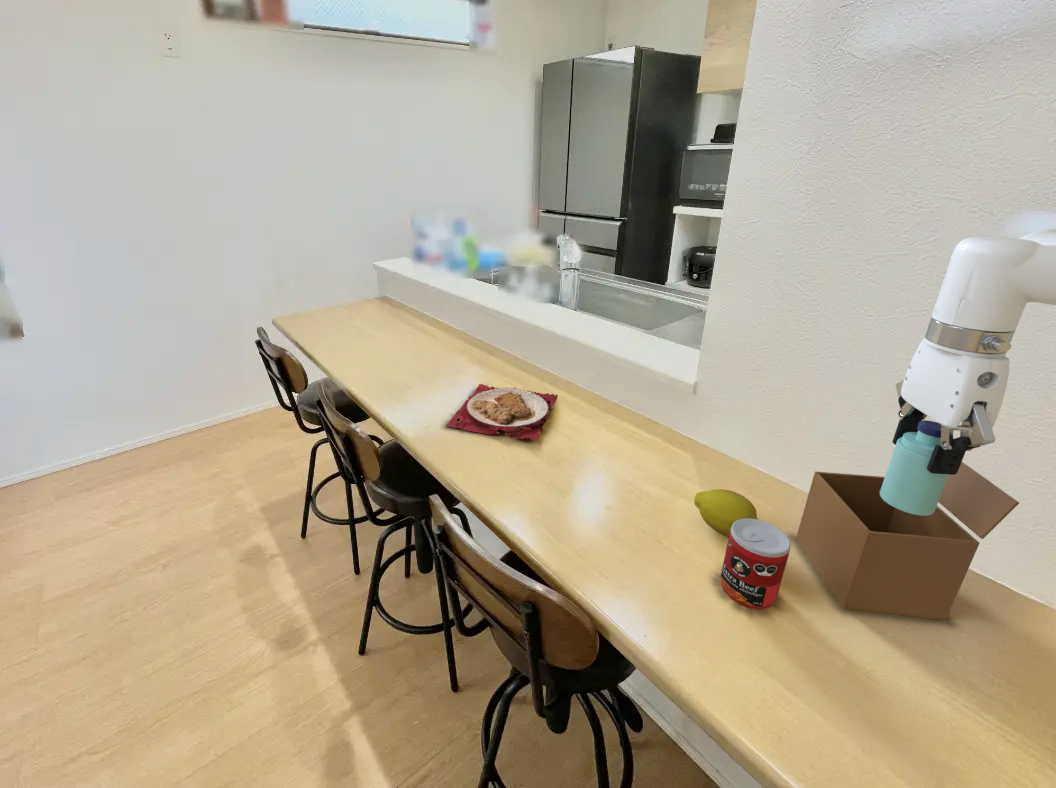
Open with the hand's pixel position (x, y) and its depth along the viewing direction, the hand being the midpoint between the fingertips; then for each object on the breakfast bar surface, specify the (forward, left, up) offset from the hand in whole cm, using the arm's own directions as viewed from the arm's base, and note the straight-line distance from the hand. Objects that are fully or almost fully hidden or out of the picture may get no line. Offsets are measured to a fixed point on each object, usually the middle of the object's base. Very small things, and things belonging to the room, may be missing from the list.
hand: (922, 457), depth 68 cm
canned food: (+19, +2, -26) cm, 32 cm away
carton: (-1, -4, -25) cm, 26 cm away
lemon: (+18, -12, -26) cm, 34 cm away
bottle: (0, 0, -7) cm, 7 cm away
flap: (-9, -4, -7) cm, 12 cm away
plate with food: (+61, -51, -26) cm, 84 cm away
